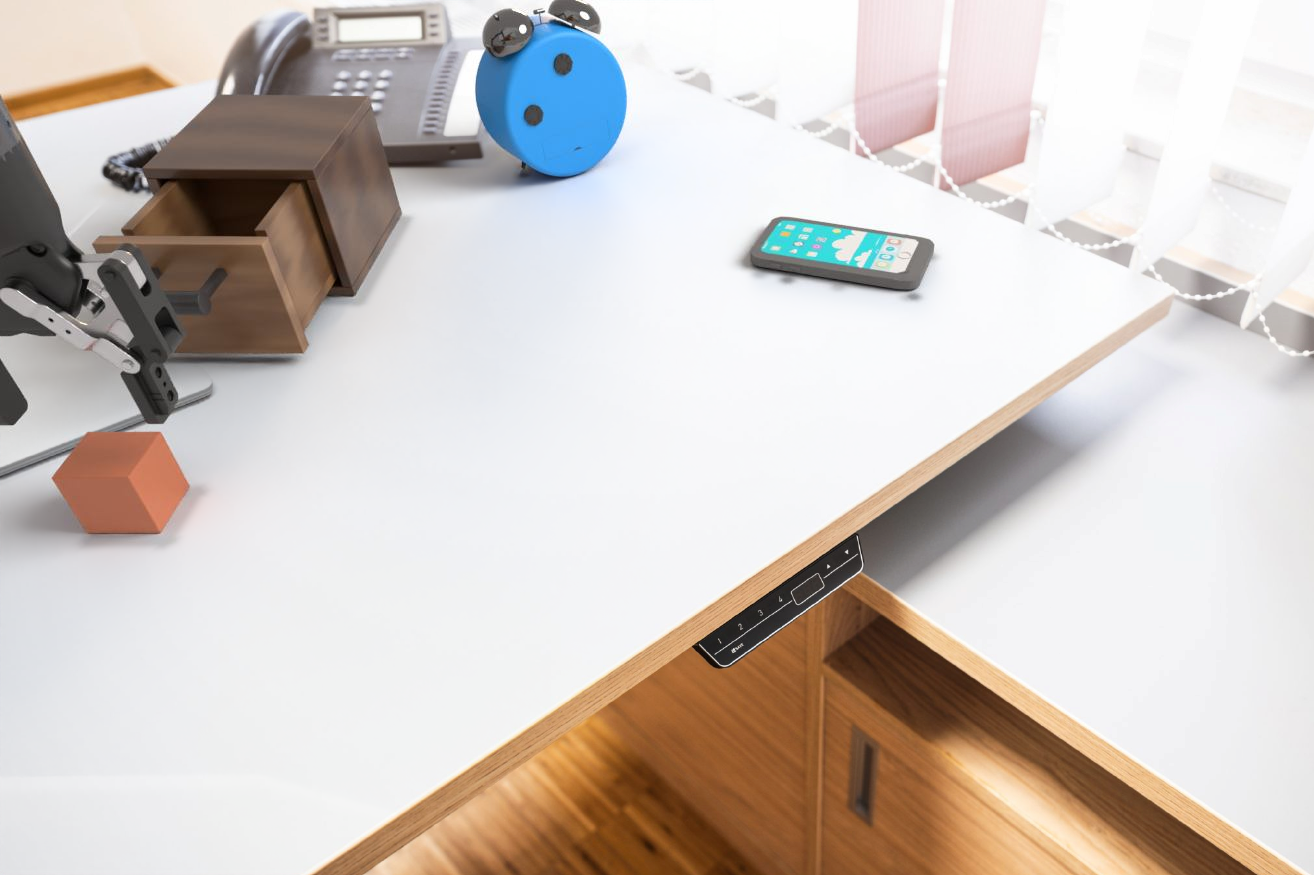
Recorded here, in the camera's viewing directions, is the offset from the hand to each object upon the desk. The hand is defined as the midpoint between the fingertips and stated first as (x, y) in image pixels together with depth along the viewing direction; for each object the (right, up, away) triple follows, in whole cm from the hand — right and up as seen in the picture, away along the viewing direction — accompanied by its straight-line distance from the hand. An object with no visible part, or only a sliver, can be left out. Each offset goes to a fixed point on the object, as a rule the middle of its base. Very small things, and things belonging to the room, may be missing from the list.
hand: (88, 416), depth 61 cm
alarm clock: (+17, +30, +42) cm, 55 cm away
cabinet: (-2, +18, +29) cm, 34 cm away
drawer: (-1, +10, +19) cm, 22 cm away
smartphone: (+45, +18, +30) cm, 57 cm away
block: (0, -5, +5) cm, 7 cm away
